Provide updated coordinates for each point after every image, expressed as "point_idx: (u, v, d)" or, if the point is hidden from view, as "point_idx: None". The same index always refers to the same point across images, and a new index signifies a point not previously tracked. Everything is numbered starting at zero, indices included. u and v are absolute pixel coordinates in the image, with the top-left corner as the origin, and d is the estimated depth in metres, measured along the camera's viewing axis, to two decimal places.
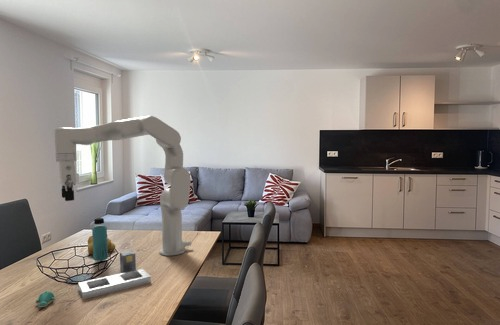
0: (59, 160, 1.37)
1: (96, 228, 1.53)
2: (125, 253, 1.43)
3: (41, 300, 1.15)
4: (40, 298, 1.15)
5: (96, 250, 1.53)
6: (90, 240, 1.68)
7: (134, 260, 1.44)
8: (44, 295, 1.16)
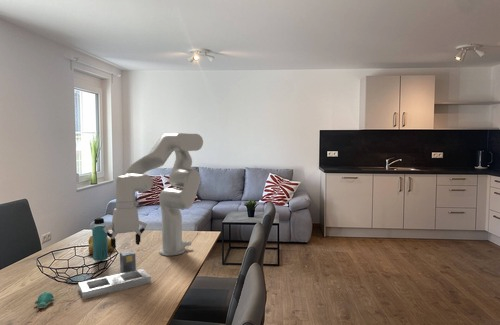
0: (133, 207, 1.42)
1: (96, 228, 1.53)
2: (125, 253, 1.43)
3: (40, 301, 1.14)
4: (39, 299, 1.15)
5: (96, 250, 1.53)
6: (91, 240, 1.68)
7: (134, 260, 1.44)
8: (43, 295, 1.15)
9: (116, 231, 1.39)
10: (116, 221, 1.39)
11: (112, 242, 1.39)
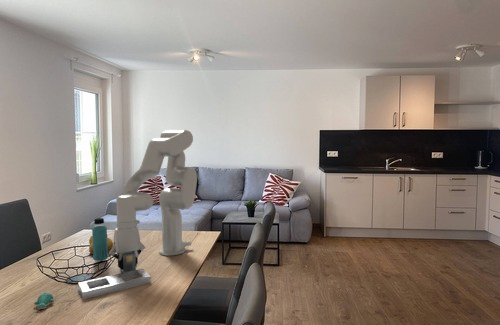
0: (134, 227, 1.43)
1: (96, 228, 1.53)
2: (125, 253, 1.43)
3: (40, 302, 1.13)
4: (39, 300, 1.14)
5: (96, 250, 1.53)
6: (91, 240, 1.69)
7: (134, 260, 1.44)
8: (43, 296, 1.15)
9: (118, 251, 1.40)
10: (117, 241, 1.40)
11: (119, 263, 1.42)
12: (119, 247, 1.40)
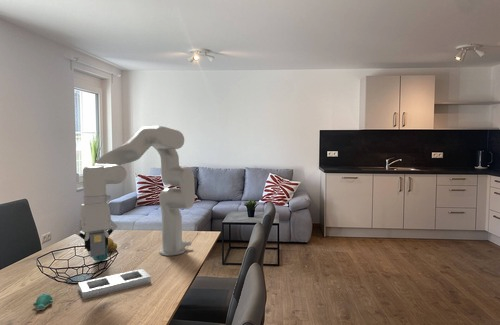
0: (104, 202, 1.24)
1: None
2: (93, 232, 1.25)
3: (39, 303, 1.13)
4: (38, 301, 1.13)
5: None
6: None
7: (103, 240, 1.25)
8: (42, 297, 1.14)
9: (84, 230, 1.21)
10: (83, 218, 1.21)
11: (86, 244, 1.23)
12: (85, 225, 1.21)
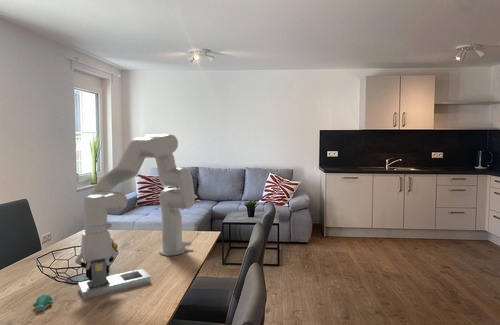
0: (105, 231, 1.25)
1: None
2: (94, 261, 1.25)
3: (38, 303, 1.12)
4: (37, 301, 1.13)
5: None
6: None
7: (105, 269, 1.25)
8: (41, 298, 1.14)
9: (85, 259, 1.22)
10: (84, 248, 1.22)
11: (87, 273, 1.24)
12: (87, 254, 1.22)
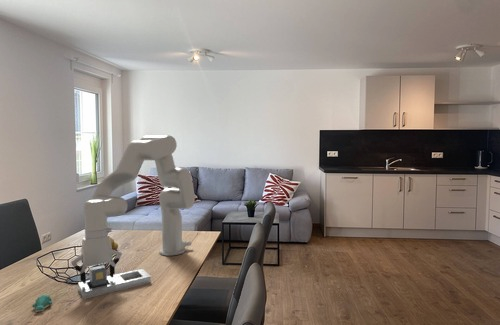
0: (105, 236, 1.25)
1: None
2: (95, 269, 1.26)
3: (38, 304, 1.12)
4: (37, 302, 1.13)
5: None
6: None
7: (105, 277, 1.26)
8: (41, 299, 1.13)
9: (85, 264, 1.22)
10: (85, 253, 1.22)
11: (82, 276, 1.23)
12: (87, 259, 1.22)
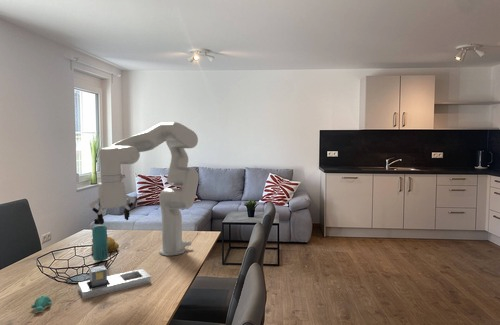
0: (120, 181, 1.34)
1: (96, 228, 1.53)
2: (95, 269, 1.26)
3: (37, 305, 1.11)
4: (36, 303, 1.12)
5: (96, 250, 1.53)
6: None
7: (105, 277, 1.26)
8: (40, 299, 1.13)
9: (102, 206, 1.32)
10: (101, 196, 1.31)
11: (99, 218, 1.32)
12: (104, 202, 1.32)
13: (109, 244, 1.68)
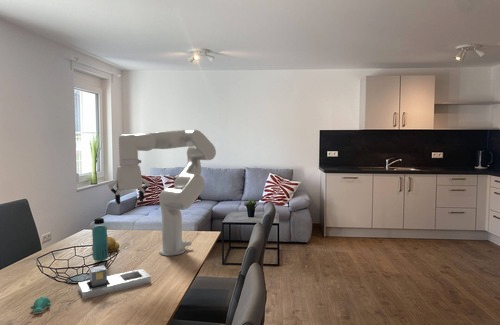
0: (136, 165, 1.47)
1: (96, 228, 1.53)
2: (95, 269, 1.26)
3: (36, 306, 1.10)
4: (35, 304, 1.11)
5: (96, 250, 1.53)
6: None
7: (105, 277, 1.26)
8: (39, 300, 1.12)
9: (120, 187, 1.44)
10: (120, 177, 1.44)
11: (117, 198, 1.45)
12: (121, 183, 1.44)
13: (110, 244, 1.68)
